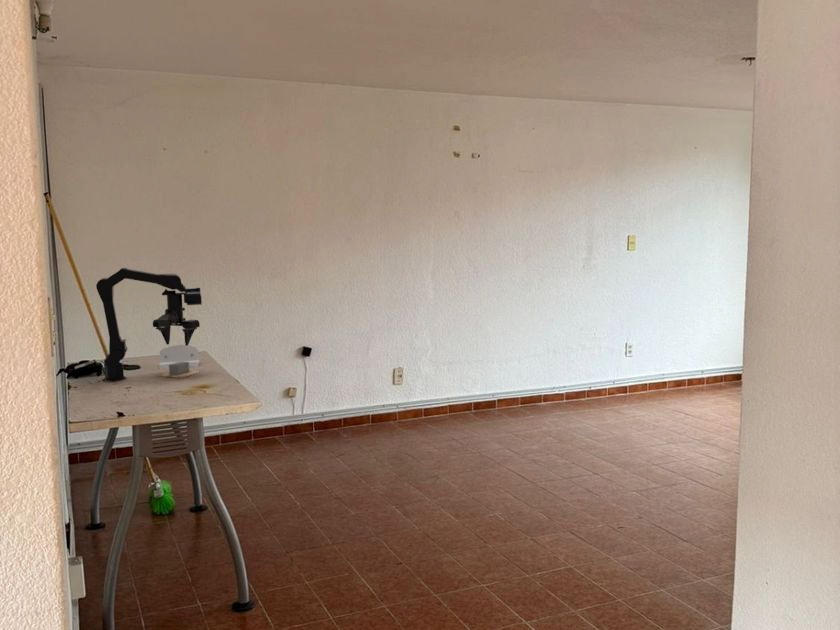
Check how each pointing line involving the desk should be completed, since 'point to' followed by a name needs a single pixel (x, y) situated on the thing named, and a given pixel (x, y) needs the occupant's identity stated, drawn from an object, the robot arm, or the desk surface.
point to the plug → (179, 368)
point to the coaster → (181, 374)
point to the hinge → (178, 355)
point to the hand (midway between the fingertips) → (177, 344)
